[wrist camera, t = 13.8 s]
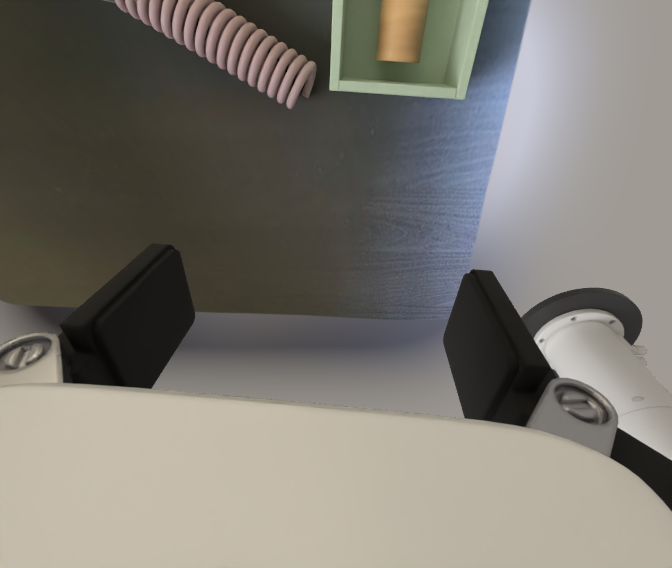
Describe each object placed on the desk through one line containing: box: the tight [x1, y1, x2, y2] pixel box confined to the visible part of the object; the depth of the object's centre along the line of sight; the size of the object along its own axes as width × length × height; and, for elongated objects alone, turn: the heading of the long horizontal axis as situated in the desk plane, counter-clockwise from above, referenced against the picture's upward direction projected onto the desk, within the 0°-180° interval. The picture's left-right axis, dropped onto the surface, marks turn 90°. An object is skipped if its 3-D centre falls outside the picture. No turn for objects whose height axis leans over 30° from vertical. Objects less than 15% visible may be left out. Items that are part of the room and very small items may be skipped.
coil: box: [115, 0, 317, 109], centre depth 30 cm, size 5×5×18 cm
